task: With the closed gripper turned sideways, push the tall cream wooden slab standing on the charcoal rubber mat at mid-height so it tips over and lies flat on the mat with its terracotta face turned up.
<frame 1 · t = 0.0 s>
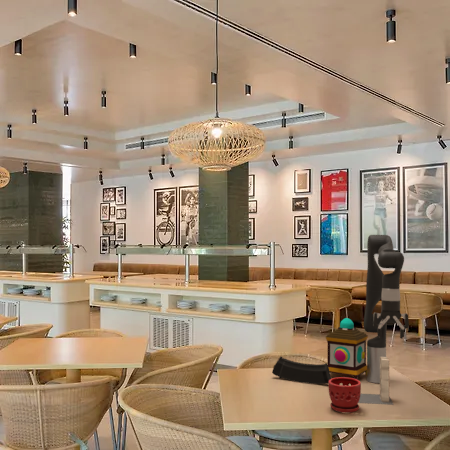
hand: (390, 338, 229), 29 cm above the table, tool pointing down, fingers open, 8 cm apart
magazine: (301, 382, 270), on the table
decorative lantern: (346, 376, 281), on the table
slab: (384, 399, 238), point 1 cm above the table, touching mat
mat: (365, 399, 240), on the table
plant pot: (344, 410, 225), on the table
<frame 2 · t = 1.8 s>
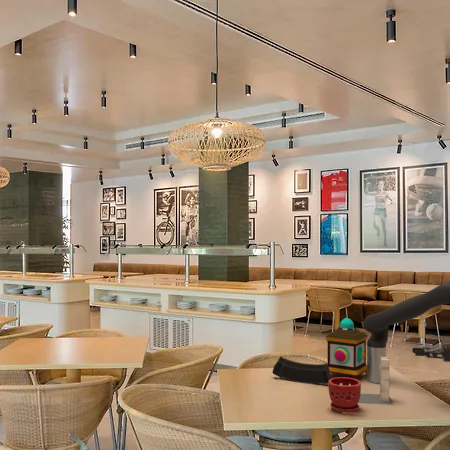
hand: (414, 351, 237), 22 cm above the table, tool horizontal, fingers open, 5 cm apart
nothing on the table moved.
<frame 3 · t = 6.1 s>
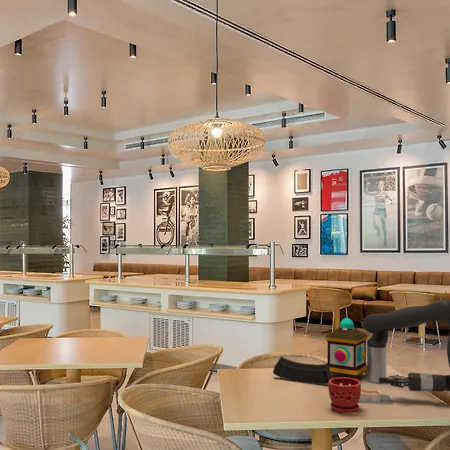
hand: (379, 380, 238), 9 cm above the table, tool horizontal, fingers closed
slab: (380, 396, 238), point 2 cm above the table, tilted 90°, touching mat
everything else where it was.
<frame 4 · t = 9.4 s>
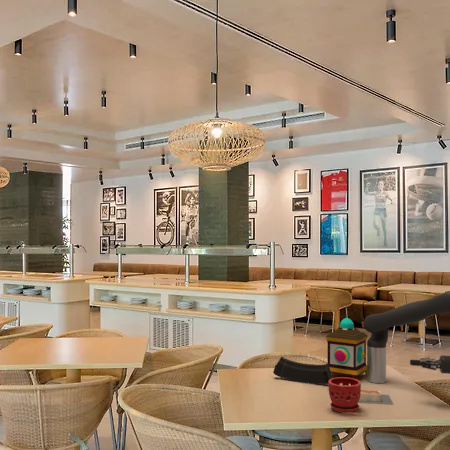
hand: (410, 362, 237), 17 cm above the table, tool horizontal, fingers closed
nothing on the table moved.
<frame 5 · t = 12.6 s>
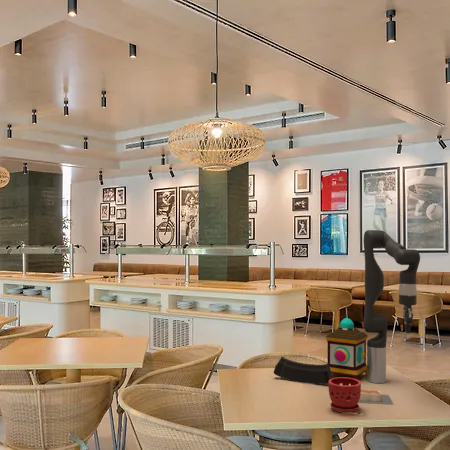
hand: (407, 332, 244), 29 cm above the table, tool pointing down, fingers closed
nothing on the table moved.
at the end: slab tilted 90°; slab inside the target area (0.7 cm from its centre), point 2.1 cm above the table; slab touching mat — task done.
